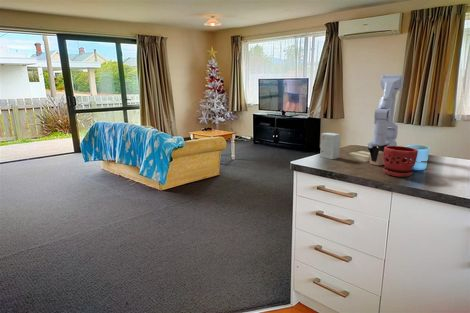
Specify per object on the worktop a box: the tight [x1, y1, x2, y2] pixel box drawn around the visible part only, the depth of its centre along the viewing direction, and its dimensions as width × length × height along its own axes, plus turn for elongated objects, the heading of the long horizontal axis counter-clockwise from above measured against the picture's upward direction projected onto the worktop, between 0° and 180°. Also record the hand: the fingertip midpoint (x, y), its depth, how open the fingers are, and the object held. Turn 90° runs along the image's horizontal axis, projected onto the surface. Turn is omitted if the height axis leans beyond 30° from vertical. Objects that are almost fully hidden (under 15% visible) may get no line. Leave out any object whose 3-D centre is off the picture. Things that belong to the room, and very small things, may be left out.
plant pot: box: [382, 145, 419, 178], centre depth 137 cm, size 13×13×12 cm
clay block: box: [369, 151, 384, 166], centre depth 153 cm, size 5×5×6 cm
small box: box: [319, 132, 341, 160], centre depth 167 cm, size 8×6×13 cm
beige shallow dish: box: [347, 150, 370, 163], centre depth 166 cm, size 11×11×3 cm
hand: (377, 160), depth 153 cm, fingers closed on clay block, 5 cm apart
